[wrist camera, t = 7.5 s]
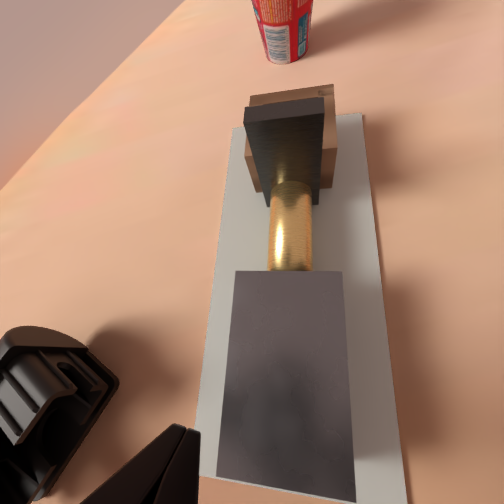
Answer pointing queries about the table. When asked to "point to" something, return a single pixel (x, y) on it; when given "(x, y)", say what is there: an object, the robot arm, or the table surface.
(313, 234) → the board
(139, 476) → the robot arm
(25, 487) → the end cap
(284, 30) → the cup
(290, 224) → the sliding bolt
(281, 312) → the sleeve
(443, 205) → the table surface
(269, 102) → the socket
